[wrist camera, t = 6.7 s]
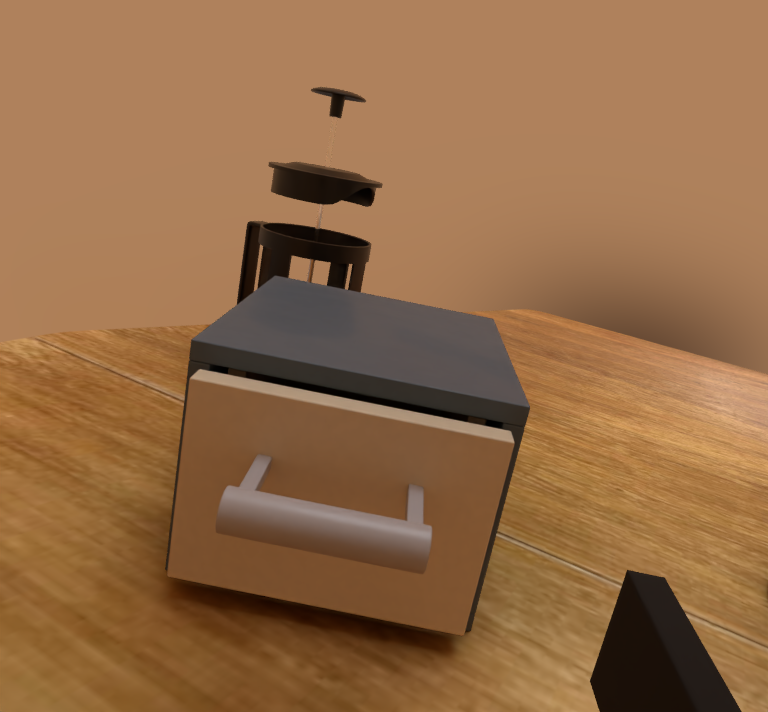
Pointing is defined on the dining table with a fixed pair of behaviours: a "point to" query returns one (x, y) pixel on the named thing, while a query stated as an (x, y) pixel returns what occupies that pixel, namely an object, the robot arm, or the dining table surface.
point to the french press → (315, 241)
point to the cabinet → (369, 358)
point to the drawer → (335, 498)
